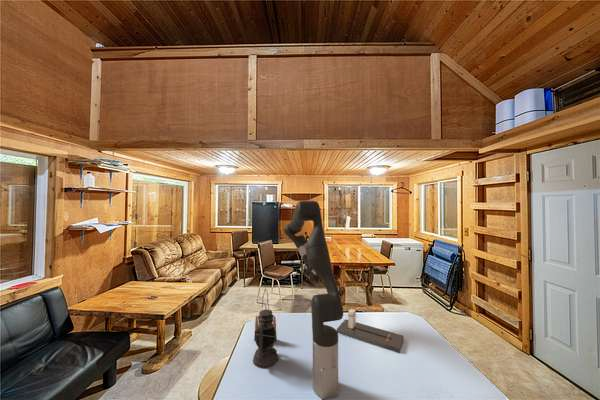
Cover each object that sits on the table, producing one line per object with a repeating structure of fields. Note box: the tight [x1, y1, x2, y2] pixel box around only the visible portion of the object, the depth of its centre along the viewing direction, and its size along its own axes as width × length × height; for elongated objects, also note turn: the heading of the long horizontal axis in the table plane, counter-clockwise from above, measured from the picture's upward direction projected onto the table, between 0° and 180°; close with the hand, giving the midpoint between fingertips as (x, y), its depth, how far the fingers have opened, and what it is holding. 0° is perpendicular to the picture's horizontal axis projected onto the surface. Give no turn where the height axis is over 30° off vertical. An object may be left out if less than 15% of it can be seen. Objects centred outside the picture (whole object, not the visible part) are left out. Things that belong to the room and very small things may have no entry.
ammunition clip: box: [254, 315, 278, 343], centre depth 112 cm, size 11×2×12 cm, turn 87°
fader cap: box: [347, 308, 357, 329], centre depth 121 cm, size 2×4×8 cm, turn 148°
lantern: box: [252, 288, 279, 369], centre depth 99 cm, size 12×11×30 cm
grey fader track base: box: [336, 318, 405, 354], centre depth 116 cm, size 30×12×2 cm, turn 58°
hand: (322, 279), depth 125 cm, fingers open, 8 cm apart
